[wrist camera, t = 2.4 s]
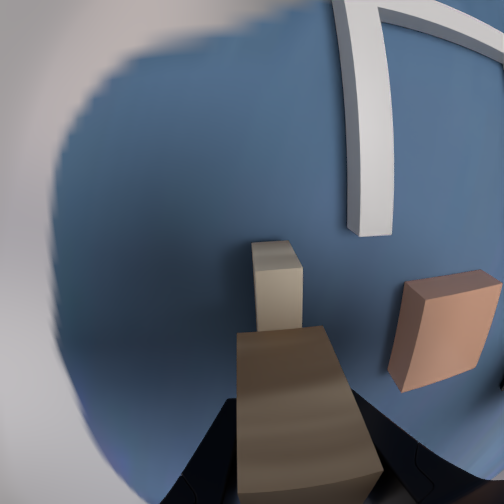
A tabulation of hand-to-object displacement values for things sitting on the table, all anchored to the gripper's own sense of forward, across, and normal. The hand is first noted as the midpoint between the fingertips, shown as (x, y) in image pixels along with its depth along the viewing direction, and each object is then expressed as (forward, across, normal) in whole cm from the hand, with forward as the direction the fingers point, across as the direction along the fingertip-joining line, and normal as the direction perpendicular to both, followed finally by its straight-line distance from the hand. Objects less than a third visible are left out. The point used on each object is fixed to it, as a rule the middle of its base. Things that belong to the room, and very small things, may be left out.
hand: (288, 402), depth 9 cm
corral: (+6, -10, -9) cm, 15 cm away
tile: (+6, -10, +2) cm, 12 cm away
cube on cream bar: (+5, 0, 0) cm, 5 cm away
